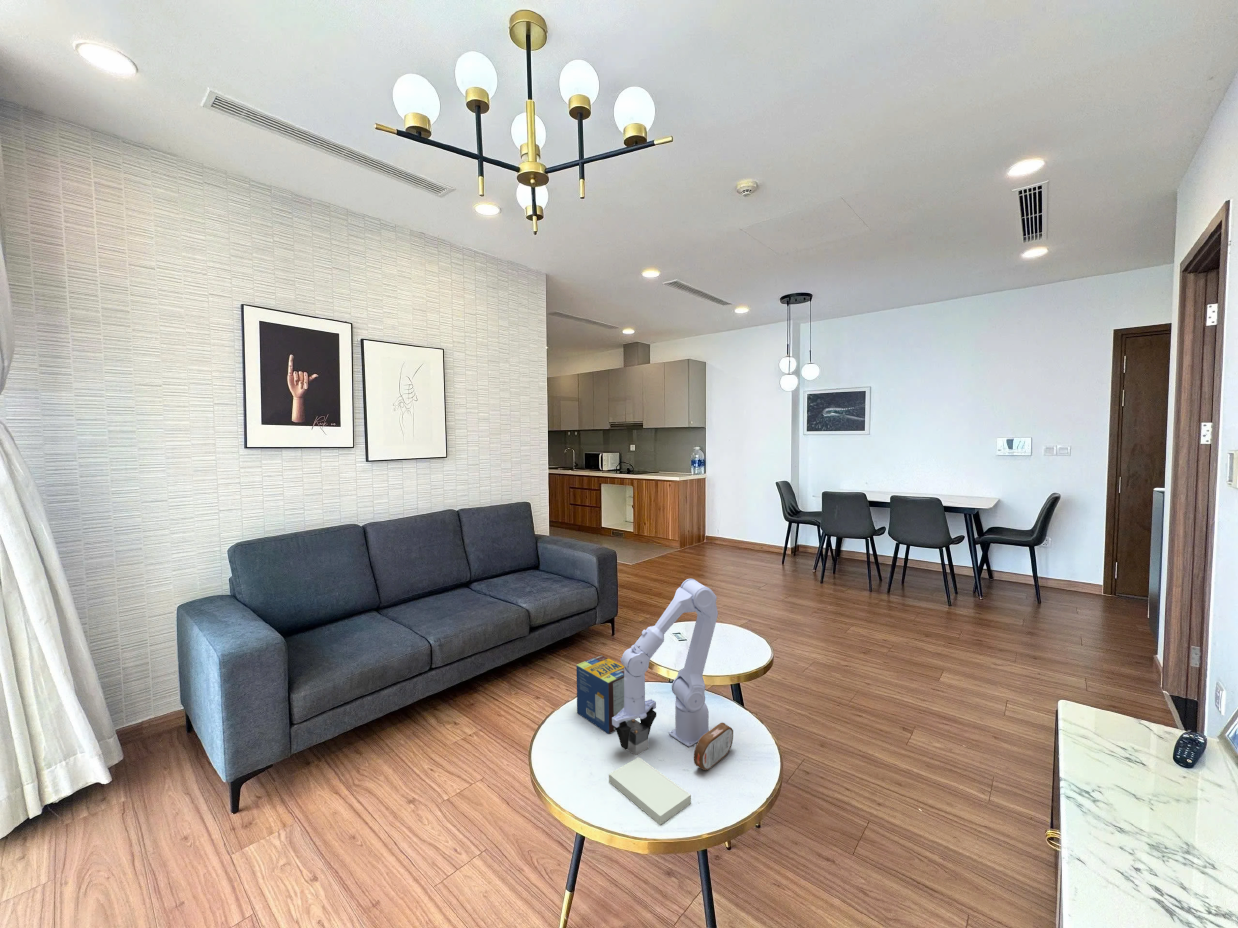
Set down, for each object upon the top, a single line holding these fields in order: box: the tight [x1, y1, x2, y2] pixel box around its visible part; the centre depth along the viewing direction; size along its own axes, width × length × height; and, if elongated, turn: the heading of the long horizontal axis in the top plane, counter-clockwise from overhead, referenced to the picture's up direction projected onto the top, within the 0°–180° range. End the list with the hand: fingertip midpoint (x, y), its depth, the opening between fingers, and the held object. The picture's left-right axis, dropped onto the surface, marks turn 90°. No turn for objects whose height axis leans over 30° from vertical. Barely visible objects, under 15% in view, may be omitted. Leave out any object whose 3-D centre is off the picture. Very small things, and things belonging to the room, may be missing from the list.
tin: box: [693, 722, 734, 771], centre depth 130 cm, size 15×3×8 cm, turn 135°
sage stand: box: [608, 756, 692, 825], centre depth 119 cm, size 10×18×2 cm, turn 40°
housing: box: [626, 719, 649, 757], centre depth 136 cm, size 5×6×6 cm
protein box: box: [576, 654, 630, 735], centre depth 151 cm, size 10×15×16 cm
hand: (634, 741), depth 136 cm, fingers open, 7 cm apart
